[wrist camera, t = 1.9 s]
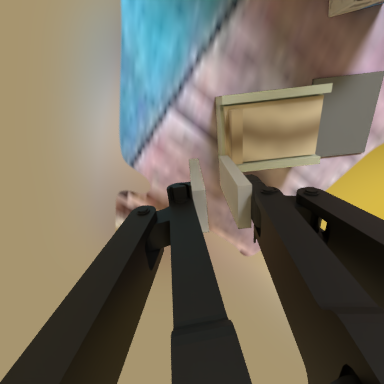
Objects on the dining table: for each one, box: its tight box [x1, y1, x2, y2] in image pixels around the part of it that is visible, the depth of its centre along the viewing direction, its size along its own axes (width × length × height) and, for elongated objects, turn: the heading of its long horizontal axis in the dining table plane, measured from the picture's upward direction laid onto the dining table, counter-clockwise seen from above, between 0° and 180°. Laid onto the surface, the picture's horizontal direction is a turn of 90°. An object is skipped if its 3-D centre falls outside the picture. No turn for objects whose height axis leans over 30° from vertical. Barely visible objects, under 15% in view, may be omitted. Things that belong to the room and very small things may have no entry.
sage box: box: [215, 83, 333, 172], centre depth 34 cm, size 12×16×7 cm
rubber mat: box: [312, 71, 384, 157], centre depth 37 cm, size 14×12×1 cm
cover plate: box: [223, 95, 324, 164], centre depth 31 cm, size 9×15×4 cm, turn 96°
